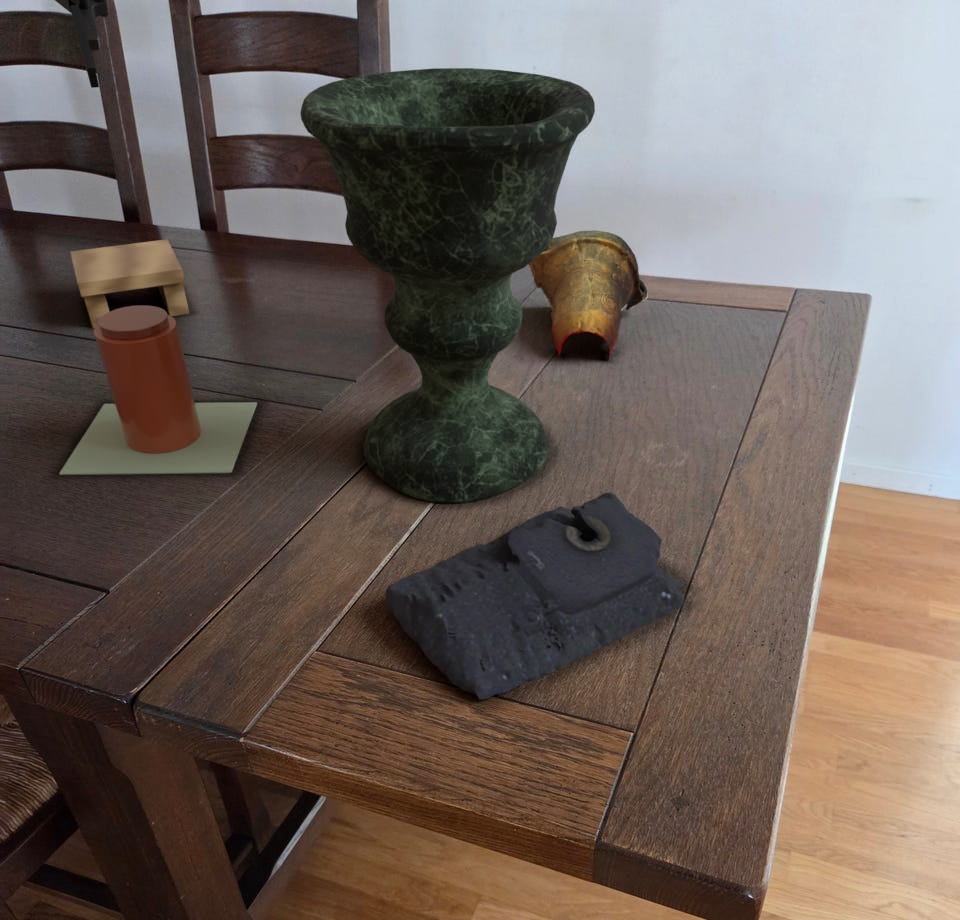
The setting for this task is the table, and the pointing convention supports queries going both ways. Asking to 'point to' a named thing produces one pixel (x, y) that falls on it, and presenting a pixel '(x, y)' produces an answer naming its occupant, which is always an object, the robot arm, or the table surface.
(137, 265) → the stand
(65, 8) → the robot arm
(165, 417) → the canister
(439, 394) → the goblet
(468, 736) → the table surface
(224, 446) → the mat
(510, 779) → the table surface
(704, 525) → the table surface
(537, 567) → the grey block with grommet
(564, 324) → the pot
